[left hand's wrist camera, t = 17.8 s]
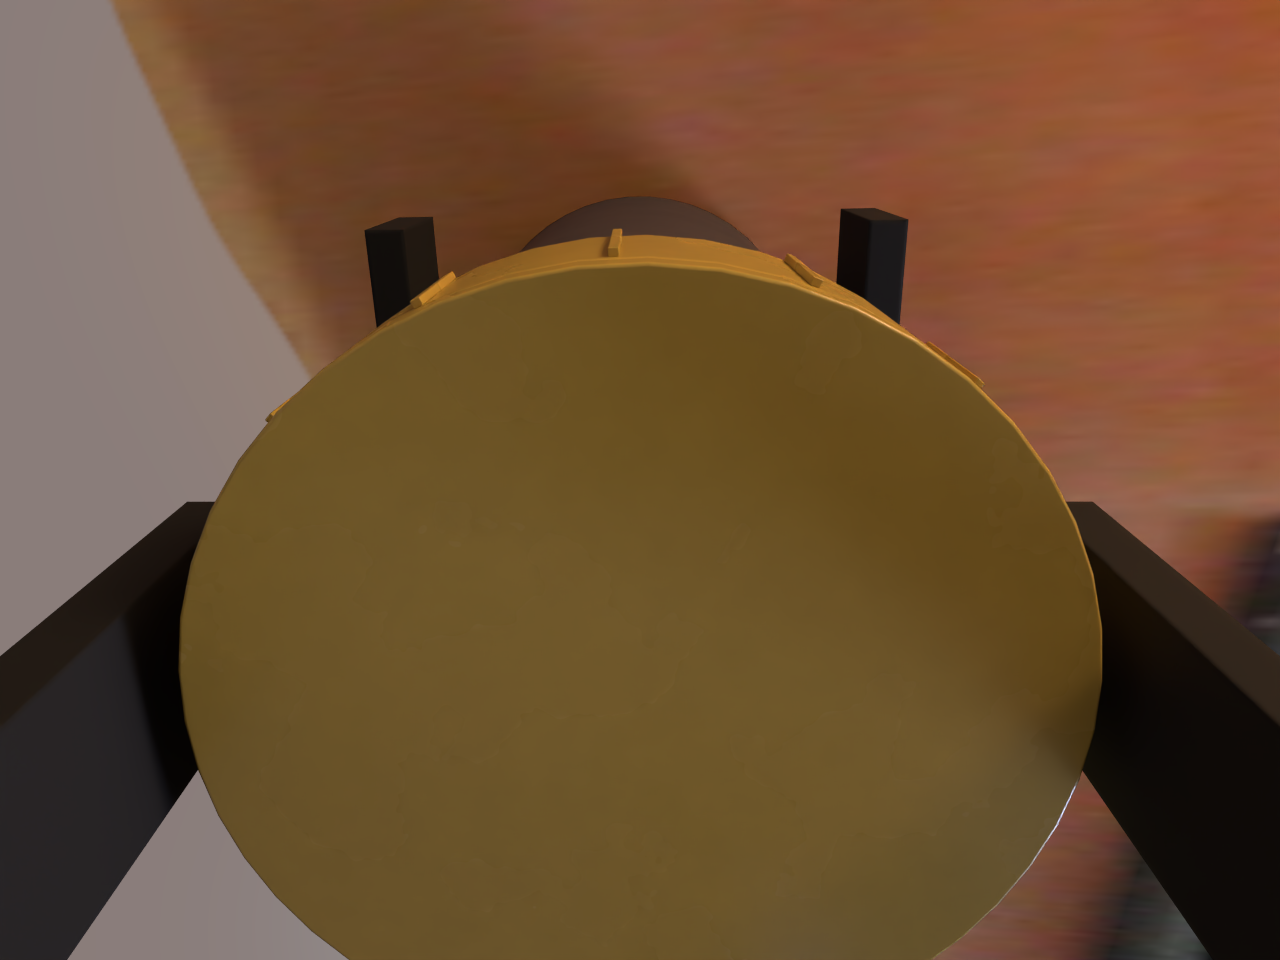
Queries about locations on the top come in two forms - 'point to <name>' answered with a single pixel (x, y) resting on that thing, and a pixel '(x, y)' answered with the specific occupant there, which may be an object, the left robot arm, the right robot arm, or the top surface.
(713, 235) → the screw-top jar
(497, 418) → the lid
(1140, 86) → the top surface
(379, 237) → the right robot arm
